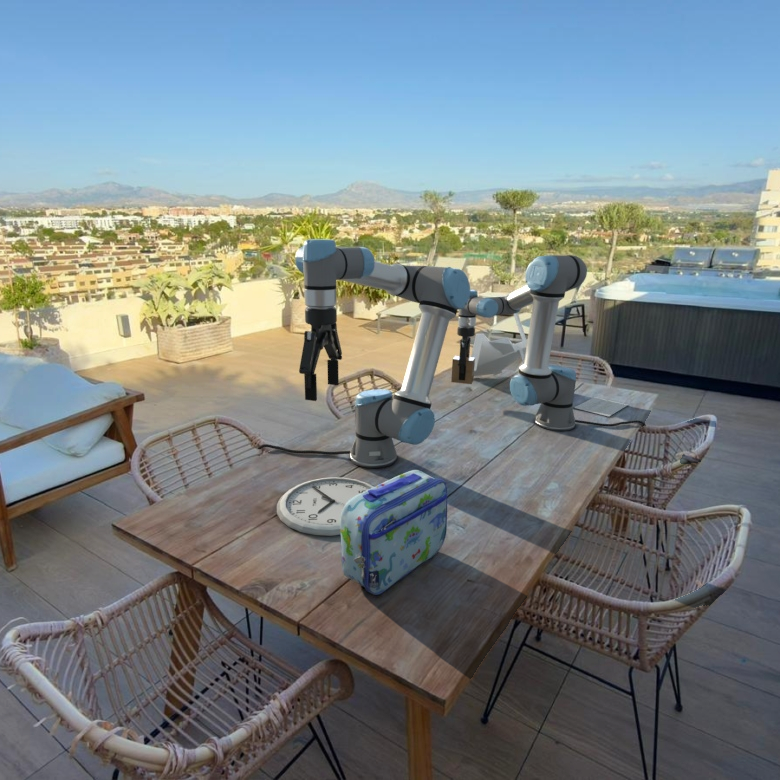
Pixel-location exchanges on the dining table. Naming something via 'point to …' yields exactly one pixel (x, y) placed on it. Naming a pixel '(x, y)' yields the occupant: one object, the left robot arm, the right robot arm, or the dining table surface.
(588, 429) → the dining table surface
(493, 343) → the white plastic object
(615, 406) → the invitation card
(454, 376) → the wooden block
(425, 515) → the lunch box
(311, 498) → the wall clock
